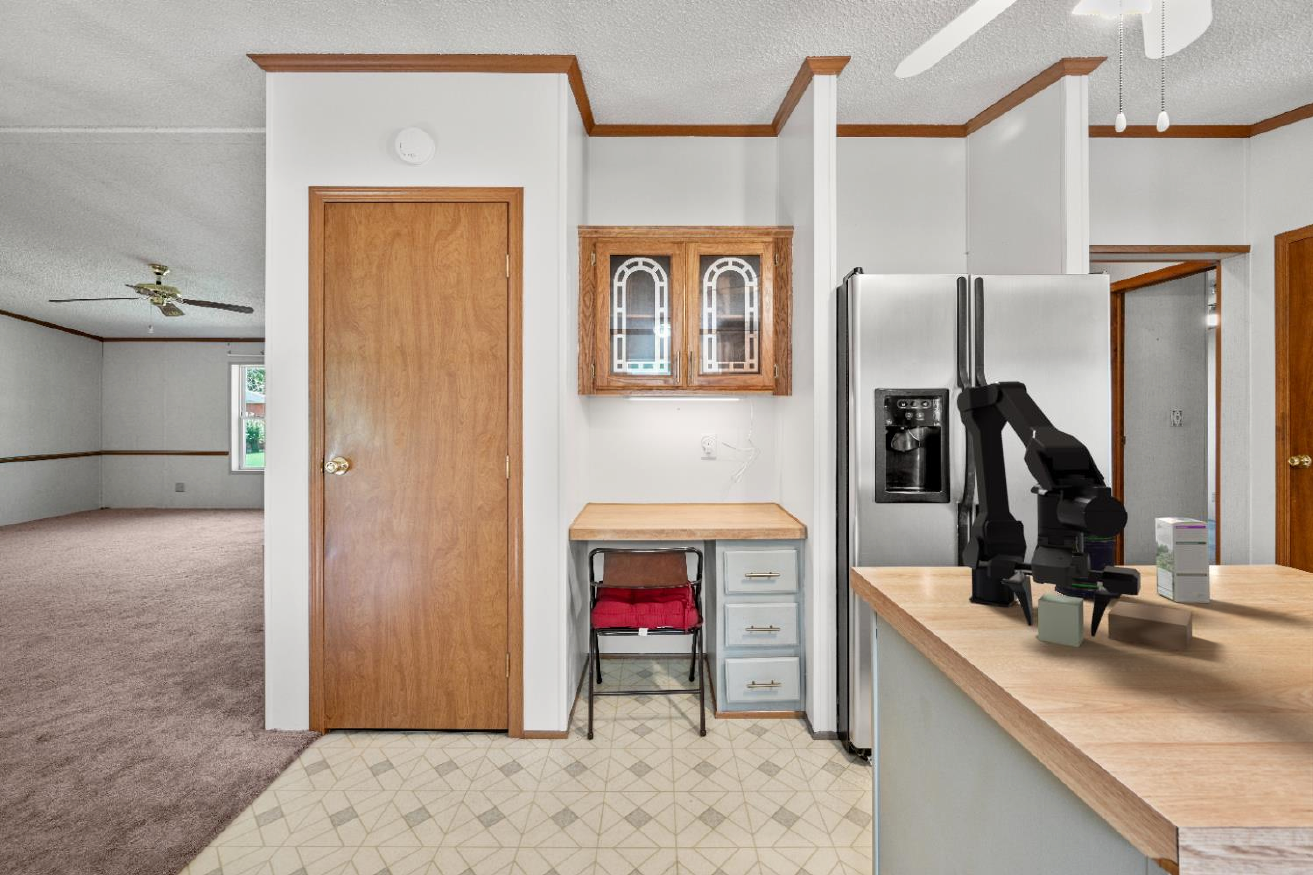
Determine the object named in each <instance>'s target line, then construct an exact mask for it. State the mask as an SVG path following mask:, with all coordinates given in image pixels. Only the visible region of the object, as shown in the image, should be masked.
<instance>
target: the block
mask: <svg viewBox="0 0 1313 875" xmlns="http://www.w3.org/2000/svg"><path fill="white" fill-rule="evenodd" d="M1107 622H1108V623H1107V627H1108V629H1107V630H1108V633H1107V634H1108V635H1107V637H1108V639H1110V640H1112V639H1113V640H1118V641H1123V642H1129V643H1134V644H1140V645H1146V646H1152V647H1157V648H1161V649H1166V650H1173V651H1179V652H1184V653H1188V651H1189V647H1190V645H1191V642H1192V638H1193V611H1190V610H1182V609H1175V608H1168V607H1160V606H1154V605H1147V604H1141V603H1133V602H1126V601H1121V600H1120V601H1119V600H1117V601H1116V603H1115V604H1114V606H1113V607H1112V608H1111V609H1110V611H1109V612H1108V614H1107Z"/></svg>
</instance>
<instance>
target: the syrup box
mask: <svg viewBox="0 0 1313 875" xmlns="http://www.w3.org/2000/svg"><path fill="white" fill-rule="evenodd" d="M1154 521H1155V522H1154V525H1155V527H1154V528H1155V562H1156V563H1155V564H1156V567H1155V568H1156V569H1155V570H1156V594H1157V595H1158V596H1162V597H1163V598H1166V599H1167V600H1170V601H1173V602H1174V603H1182V604H1210V603H1211V598H1210V597H1211V591H1210V589H1211V588H1210V587H1211V586H1210V557H1209V556H1210V553H1209V551H1210V550H1209V547H1210V546H1209V523H1208V522H1207V521H1202V520H1198V519H1193V518H1190V517H1189V518H1188V517H1178V516H1176V517H1174V516H1173V517H1171V516H1170V517H1158V518H1157V517H1156V518H1155V519H1154Z"/></svg>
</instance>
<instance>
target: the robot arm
mask: <svg viewBox="0 0 1313 875" xmlns="http://www.w3.org/2000/svg"><path fill="white" fill-rule="evenodd" d="M956 407H957V410H958V412H959V416H960V422H961V424H963V426H964V427H965V428H966V429H967V431H968V432H969V433H970V434H971V438H972V448H973V457H974V458H973V459H974V460H973V461H974V469H975V470H974V471H975V480H976V482H975V483H976V491H977V500H978V501H977V502H978V514H977V516H976V517H975V520H974V521H973V523H972V525H971V526H970V539H968V541H967V543H966V545H965V547H964V549H963V551H962V552H961V557H962V562H963V565H964V566H965V567H967V568H970V569H971V596H970V597H968V600H969V602H974V603H981V604H985V605H986V604H987V605H994V606H1001V607H1006V608H1009V607H1010V606H1011V605H1012V604H1014V603H1015V601H1018V602H1019V605H1020V607H1021V609H1022V612H1023V615H1024V617H1025V620H1026V622H1027V625H1028V627H1032V626H1033V625H1034V606H1033V604H1034V603H1033V595H1032V582H1031V578H1032V581H1033V582H1034V583H1035V584H1039V585H1045V584H1048V585H1055V586H1056V585H1059V586H1061V587H1069V586H1071V585H1072V584H1073V581H1078V582H1087V583H1095V584H1097V587H1098V589H1097V590H1096V592H1095V594H1094V600H1093V608H1092V617H1091V621H1090V622H1091V623H1090V637H1094V638H1095V637H1096V634H1097V632H1098V629H1099V627H1100V624H1101V621H1102V619H1103V616H1104V615H1105V614H1104V613H1105V611H1106V610H1107V607H1108V606H1109V604H1110V602H1111V599H1112V600H1120V599H1121V598H1122V597H1123V595H1125V596H1126V595H1127V596H1138V595H1139V593H1140V590H1141V586H1142V585H1141V584H1142V583H1141V581H1142V580H1141V573H1140V571H1138V570H1137V569H1136V568H1134V567H1122V566H1115V565H1114V566H1106V568H1105V569H1104V570H1103V571H1095V570H1090V568H1091V567H1090V557H1089V553H1085V552H1083V533H1085V534H1089V535H1093V536H1097V537H1101V538H1110V537H1114V536H1116V537H1117V536H1118V535H1119V534H1121V533H1122V532H1123V530H1124V529H1125V528H1126V526H1127V523H1128V520H1129V516H1128V511H1127V510H1126V508H1125V505H1124V504H1123V502H1121V501H1120V499H1119V498H1116V497H1114V496H1112V493H1113V492H1112V490H1113V489H1112V487H1110V486H1107V484H1106V482H1105V477H1104V476H1103V474H1102V473H1101V470H1099V468H1098V466H1097V464H1096V462H1095V459H1094V458H1093V456H1092V454H1091V452H1090V450H1089V449H1088V447H1087V446H1086V445H1085V444H1084V443H1082V442H1081V441H1080V440H1079V439H1078V438H1077V437H1075V436H1074V435H1072V434H1069V433H1066V432H1064V431H1062V430H1059V429H1058V427H1057V428H1056V427H1055V425H1054V424H1053V423H1052V422H1051V420H1050V419H1049V418H1048V417H1047V415H1046V414H1045V413H1044V412H1043V411H1042V409H1041V408H1040V407H1039V405H1038V404H1037V402H1035V400H1034V399H1033V398H1032V397H1031V395H1030V394H1029V393H1028V390H1027V386H1026V384H1025V383H1024V382H1020V381H1015V380H1013V381H995V382H993V383H989V384H987V385H983V386H967V387H965V388H964V389H962V392H960V393H959V394H958V395H957V398H956ZM1007 423H1008V424H1009V426H1010V427H1011V428H1012V430H1013V431H1014V432H1015V434H1016V435H1017V437H1018V438H1019V440H1020V441H1021V442H1022V444H1023V446H1024V447H1025V454H1024V457H1023V460H1024V462H1025V465H1026V466H1027V470H1028V471H1029V473H1030V474H1031V477H1033V478H1034V480H1035V481H1036V482H1037V483H1036V484H1035V485H1034V486H1032V487H1031V488H1030V492H1031V493H1032V494H1035V495H1036V496H1037V498H1036V499H1037V501H1036V503H1037V504H1036V507H1037V541H1036V545H1035V548H1034V551H1033V555H1032V557H1031V560H1030V562H1025V558H1026V553H1027V548H1028V546H1027V541H1026V538H1025V532H1024V531H1025V526H1024V523H1023V522H1022V520H1017V519H1016V518H1015V516H1014V515H1013V514H1012V513H1011V510H1010V502H1009V494H1008V483H1007V474H1006V473H1007V472H1006V465H1005V464H1006V463H1005V456H1004V455H1005V454H1004V453H1005V452H1004V444H1003V435H1002V432H1003V430H1004V429H1005V427H1006V424H1007ZM1017 599H1018V600H1017Z"/></svg>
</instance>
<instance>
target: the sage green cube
mask: <svg viewBox="0 0 1313 875" xmlns="http://www.w3.org/2000/svg"><path fill="white" fill-rule="evenodd" d="M1084 615H1085V614H1084V599H1083V598H1076V597H1068V596H1064V595H1061V594H1053V593H1043V594H1042V596H1040V597H1039V598H1038V600H1037V616H1038V617H1037V619H1038V620H1037V622H1038V623H1037V624H1038V626H1037V627H1038V633H1037V634H1038V641H1043V642H1047V643H1048V642H1049V643H1054V644H1060V645H1065V646H1069V647H1070V646H1071V647H1075V648H1076V647H1077V648H1079V647H1080V645H1081V644H1082V642H1083V640H1084V638H1085V633H1084V630H1085V629H1084V628H1085V626H1084V625H1085V624H1084V619H1085V618H1084Z"/></svg>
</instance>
